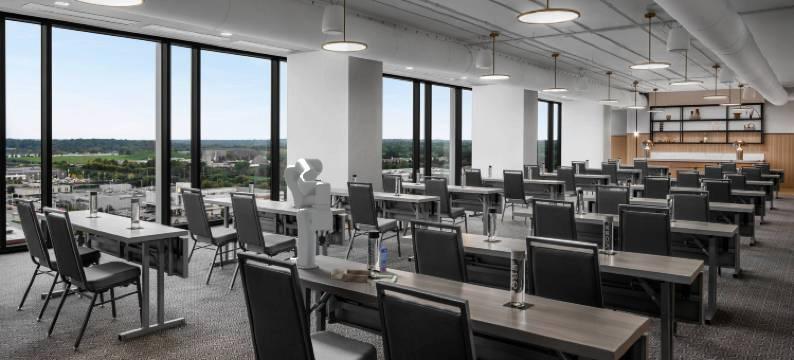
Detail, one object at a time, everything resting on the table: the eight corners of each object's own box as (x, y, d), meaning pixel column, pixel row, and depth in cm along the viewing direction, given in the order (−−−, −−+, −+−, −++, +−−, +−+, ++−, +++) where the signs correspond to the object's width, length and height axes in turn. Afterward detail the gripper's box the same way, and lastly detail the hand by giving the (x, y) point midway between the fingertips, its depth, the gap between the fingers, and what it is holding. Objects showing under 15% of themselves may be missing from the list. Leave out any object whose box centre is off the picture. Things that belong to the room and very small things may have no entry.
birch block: (331, 278, 287) (331, 270, 287) (333, 276, 292) (333, 268, 292) (341, 279, 286) (341, 271, 286) (343, 276, 291) (343, 269, 291)
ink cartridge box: (387, 270, 307) (387, 243, 305) (380, 272, 302) (381, 245, 301) (372, 267, 312) (373, 241, 311) (366, 269, 308) (366, 242, 307)
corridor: (342, 280, 283) (342, 274, 283) (347, 275, 295) (347, 269, 294) (367, 282, 282) (367, 276, 281) (370, 276, 293) (370, 270, 293)
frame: (373, 282, 281) (373, 280, 281) (376, 276, 293) (376, 274, 293) (394, 283, 280) (394, 281, 280) (396, 277, 292) (396, 275, 292)
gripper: (306, 207, 284) (305, 244, 285) (336, 208, 283) (335, 245, 284) (309, 206, 292) (309, 242, 293) (339, 207, 290) (338, 243, 291)
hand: (322, 243), depth 288 cm, fingers closed
